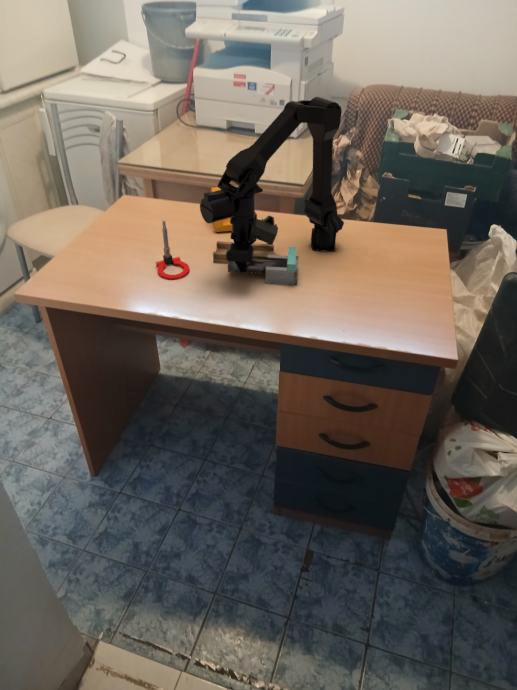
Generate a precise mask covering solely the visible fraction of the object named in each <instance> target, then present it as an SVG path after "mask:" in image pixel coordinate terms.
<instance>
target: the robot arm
mask: <svg viewBox="0 0 517 690" xmlns="http://www.w3.org/2000/svg"><path fill="white" fill-rule="evenodd" d="M342 112H343V111H342V106H341V105H340V104H339V103H338V102H336V101H332V100H329V99H327V98H324V97H320V96H315V97H312V99H311V100H305V99H301V100H298V101H295V100H291V101H288V102H286V104H285V105H284V107H283V110H282V111H281V112H280V113H279V114H278V115H277V117H276V118H275V119H273V121H272V122H271V123H270V124H269V125H268V127H267V128H266V129H265V130H264V131H263V132H262V133H261V135H260V136H259V137H258V138H257V139H256V140H255V141H254V143H253V144H251V145H250V146H249V147H246V148H244V149H242V150H240V151H239V152H237V153H236V154H235V155H233V156H232V157H231V158H230V159H229V160H228V162H227V163H226V166H225V170H224V171H223V174H222V176H221V177H220V180H219V181H218V184H217V187H218V188H220V189H221V190H218V191H214V192H211V191H208V192H204V193H203V198H202V199H201V201H200V204H199V211H200V213H201V217H202V218H203V220H204V222H205V223H206V224H213V222H217V221H220V220H223V219H227V218H230V217H231V219H230V224H232V231H231V232H230V239H231V240H233V241H232V242H234V243H231V244H230V245H229V246H228V248H227V252H226V260H227V261H235V263H236V265H237V266H238V268H239V270H240V272H243V273H242V274H244V272H245V269H246V265H247V262H251V261H252V259H253V254H254V250H253V247H252V244H253V243H255V242H256V241H257V240H258V241H261V242H264V243H265V244H269V245H272V244H274V242H275V240H276V237H277V235H278V231H279V227H278V224H276V223H275V217H274V216H272V215H267V216H266V217H265V218H261V219H258V214H257V213H256V194H260V193H263V191H264V189H263V188H262V187H260V186H259V185H258V182H259V180H260V179H261V178H262V176H263V175H264V174H265V171H266V167H267V166H266V165H267V163H268V162H269V160H270V159H271V158H272V156H274V154H275V153H276V152H277V151H278V150H279V149H280V148H281V147H282V145H283V144H284V143H285V142H286V141H287V139H289V137H290V136H291V135H292V134H293V133H295V131H296V130H297V128H298V127H299V126H300V125H301V124H303V123H304V124H307V125H306V126H307V128H308V130H309V133H310V135H311V137H312V192H311V194H310V195H309V197H308V198H305V199H304V210H303V213H305V216H306V217H307V218H308V220H309V223H311V224H312V225H313V227H312V228H311V233H310V245H311V250H312V251H319V252H322V251H323V252H336V240H337V233H339V232H340V231H341V230H343V227H344V225H345V221H343V219H341V217H340V216H339V215H338V207H337V202H336V200H335V197H334V195H333V193H332V185H333V184H332V182H333V179H332V177H333V153H334V151H333V150H334V149H333V148H334V138H335V136H336V135H337V133H338V131H339V129H340V125H341V119H342ZM231 182H233V183H234V184H235V185H237V187H236V186H234V185H233V184H232V183H231Z"/></svg>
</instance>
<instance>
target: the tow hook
mask: <svg viewBox="0 0 517 690" xmlns="http://www.w3.org/2000/svg"><path fill="white" fill-rule="evenodd" d="M162 237H163V254H164V255H162V258H163V259H162V260H158V261H156V262H155V266H156V267H157V268H156V271H157V275H158V276H159V277H160V278H162V279H164V280H167V281H175V280H181V279H183V278H186V277H187V276H188V275H189V274H190V265H189V264H188V263H187V262H185V261H182V260H181V257H180V256H176V257H173V255H172V254H171V247H170V245H169V234H168V228H167V226H166V221H165V220H162ZM170 265H174V266H178V267H180V268H182V269H183V270H182V271H181V272H180V273H177V274H176V273H175V274H169V273H166V272H165V271H164V270H165V269H166V268H167V266H170Z"/></svg>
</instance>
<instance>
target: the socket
mask: <svg viewBox="0 0 517 690" xmlns="http://www.w3.org/2000/svg"><path fill="white" fill-rule="evenodd" d="M268 260H277V261H283V267H266V274H265V281H264V283H265V284H266V285H281V286H282V285H283V286H297V283H298V269H299V256H298V255H296V263H295V272H293V271H287V261H288V255H283V254H282V255H281V254H274V255H268Z"/></svg>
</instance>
